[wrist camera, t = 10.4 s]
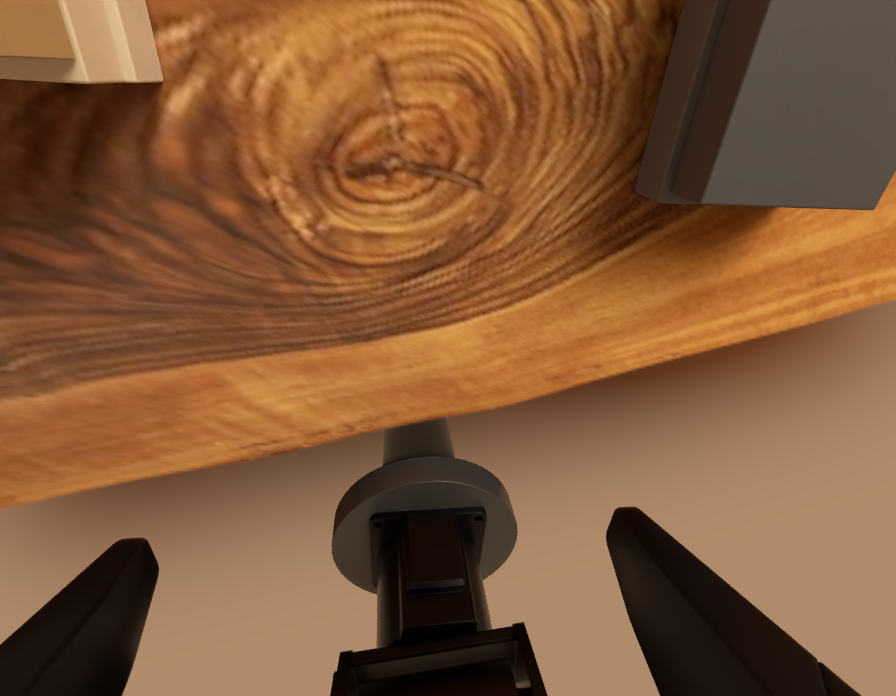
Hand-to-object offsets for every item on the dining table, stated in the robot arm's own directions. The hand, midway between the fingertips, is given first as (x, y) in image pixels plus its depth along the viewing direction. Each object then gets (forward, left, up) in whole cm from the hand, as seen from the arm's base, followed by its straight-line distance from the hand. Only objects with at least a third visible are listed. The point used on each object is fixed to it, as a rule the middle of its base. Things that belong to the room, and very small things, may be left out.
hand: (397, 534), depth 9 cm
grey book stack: (+9, -14, -13) cm, 21 cm away
